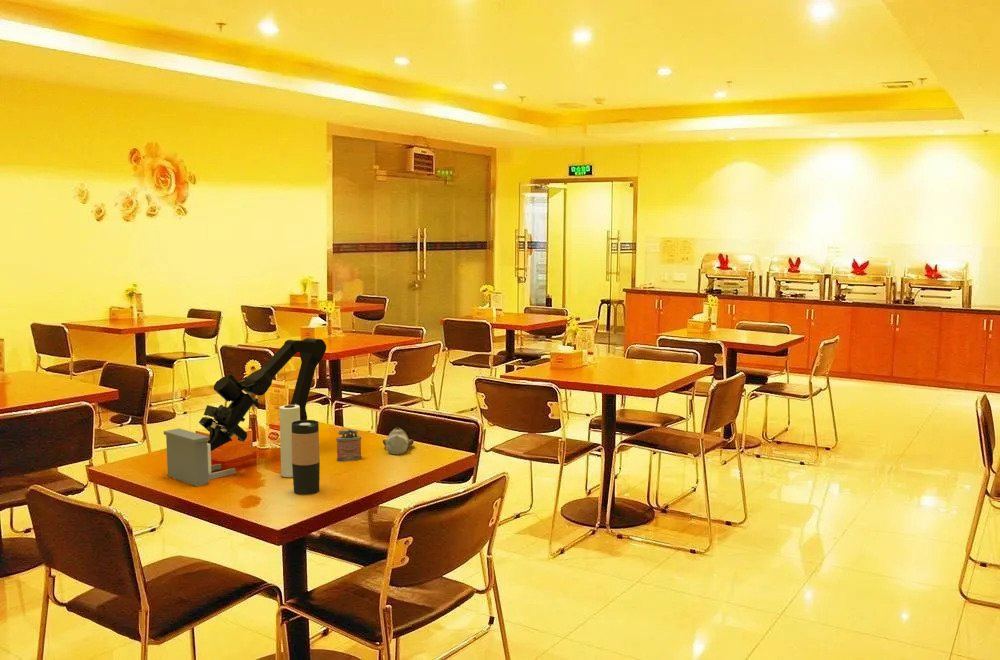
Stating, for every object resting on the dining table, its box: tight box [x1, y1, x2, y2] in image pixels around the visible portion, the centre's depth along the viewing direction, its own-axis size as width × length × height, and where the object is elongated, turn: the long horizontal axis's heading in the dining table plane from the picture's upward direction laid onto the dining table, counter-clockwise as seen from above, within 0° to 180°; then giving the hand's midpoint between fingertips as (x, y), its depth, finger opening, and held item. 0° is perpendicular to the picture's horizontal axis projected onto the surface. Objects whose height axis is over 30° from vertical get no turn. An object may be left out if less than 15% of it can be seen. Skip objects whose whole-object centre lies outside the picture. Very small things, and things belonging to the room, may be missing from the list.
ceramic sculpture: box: [382, 426, 415, 456], centre depth 293 cm, size 11×9×15 cm
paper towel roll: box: [278, 404, 300, 478], centre depth 262 cm, size 7×6×21 cm
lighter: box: [335, 428, 362, 462], centre depth 281 cm, size 8×3×10 cm, turn 108°
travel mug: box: [292, 419, 321, 496], centre depth 246 cm, size 8×8×20 cm
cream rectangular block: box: [207, 443, 212, 474], centre depth 260 cm, size 4×6×10 cm
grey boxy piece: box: [163, 428, 236, 487], centre depth 261 cm, size 16×17×14 cm
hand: (206, 451), depth 262 cm, fingers closed, pressing on cream rectangular block
